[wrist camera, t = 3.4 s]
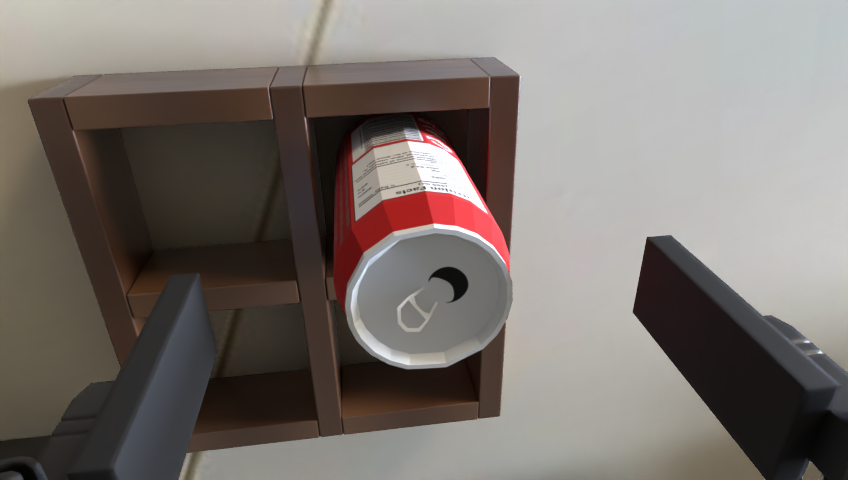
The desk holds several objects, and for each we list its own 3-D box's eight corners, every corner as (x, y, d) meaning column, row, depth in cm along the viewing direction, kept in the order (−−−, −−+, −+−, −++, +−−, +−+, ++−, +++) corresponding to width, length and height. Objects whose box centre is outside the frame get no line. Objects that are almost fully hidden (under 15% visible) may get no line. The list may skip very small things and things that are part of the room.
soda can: (382, 237, 28) (409, 412, 18) (310, 154, 26) (291, 300, 15) (473, 173, 27) (559, 317, 17) (407, 81, 25) (459, 182, 14)
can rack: (172, 399, 31) (151, 457, 27) (73, 75, 23) (25, 99, 19) (483, 366, 33) (500, 416, 29) (495, 56, 25) (521, 75, 21)
